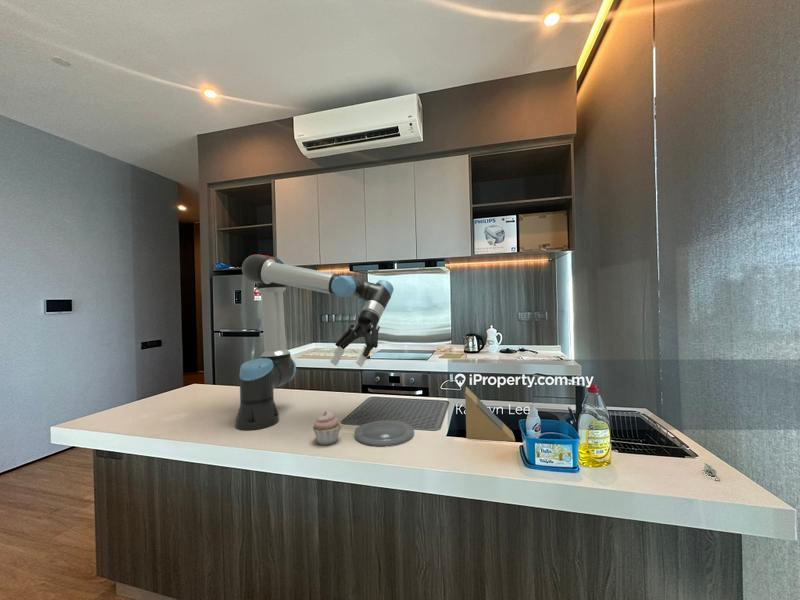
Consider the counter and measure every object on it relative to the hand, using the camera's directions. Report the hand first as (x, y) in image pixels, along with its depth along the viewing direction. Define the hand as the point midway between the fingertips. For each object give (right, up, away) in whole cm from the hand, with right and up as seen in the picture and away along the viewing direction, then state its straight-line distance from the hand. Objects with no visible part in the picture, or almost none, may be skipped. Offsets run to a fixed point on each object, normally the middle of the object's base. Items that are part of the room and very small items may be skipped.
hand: (345, 364), depth 116 cm
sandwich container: (+48, -23, -5) cm, 54 cm away
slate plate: (+13, -23, -2) cm, 27 cm away
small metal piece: (+94, -21, -33) cm, 102 cm away
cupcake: (-5, -24, -7) cm, 25 cm away
